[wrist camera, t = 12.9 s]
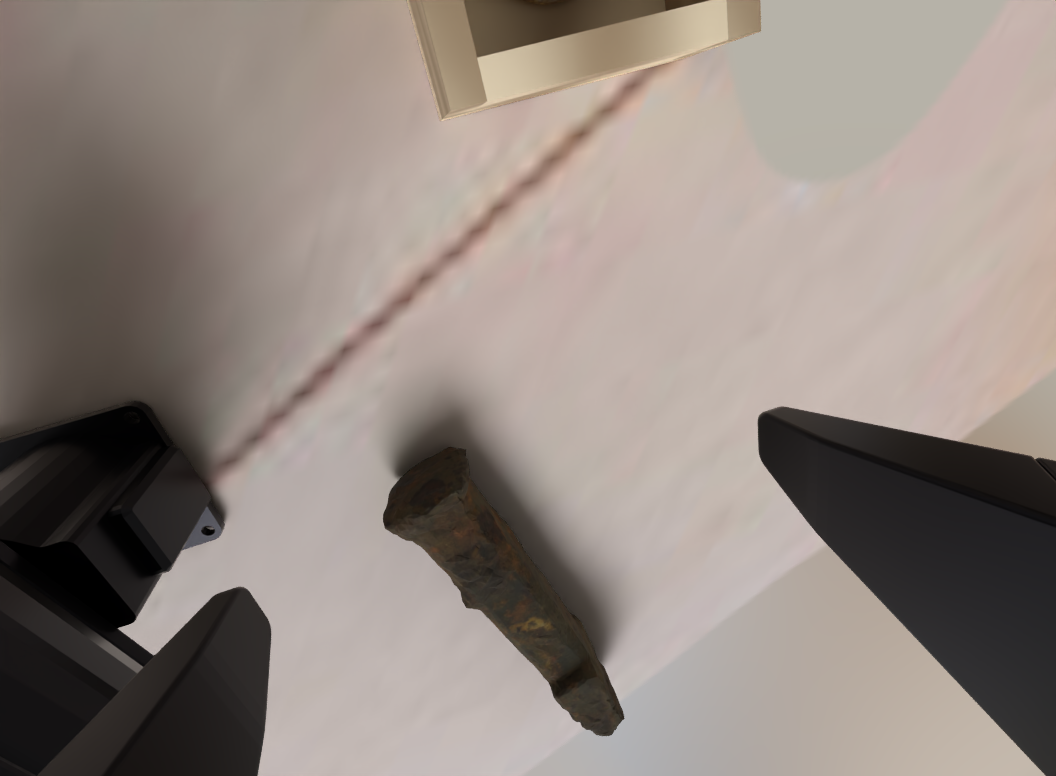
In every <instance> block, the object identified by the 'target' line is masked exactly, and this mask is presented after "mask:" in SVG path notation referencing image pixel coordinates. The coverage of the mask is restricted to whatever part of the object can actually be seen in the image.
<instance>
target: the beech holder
mask: <svg viewBox="0 0 1056 776" xmlns="http://www.w3.org/2000/svg"><path fill="white" fill-rule="evenodd" d="M407 3H408V7H409V10H410V14H411V17H412V21H413V25H414V28H415V32H416V36H417V39H418V43H419V46H420V50H421V54H422V57H423V61H424V64H425V68H426V72H427V75H428V79H429V83H430V86H431V90H432V93H433V97H434V101H435V104H436V108H437V111H438V115H439V119H440V121H443V120H447V119H451V118H455V117H459V116H463V115H467V114H471V113H475V112H478V111H482V110H486V109H490V108H494V107H498V106H502V105H506V104H510V103H513V102H517V101H521V100H525V99H529V98H533V97H537V96H541V95H545V94H548V93H552V92H556V91H560V90H564V89H568V88H572V87H576V86H580V85H583V84H587V83H591V82H595V81H599V80H603V79H607V78H611V77H615V76H618V75H622V74H626V73H630V72H634V71H638V70H642V69H646V68H650V67H653V66H657V65H661V64H665V63H669V62H673V61H677V60H681V59H684V58H687V57H690V56H693V55H695V54H698V53H701V52H704V51H707V50H710V49H712V48H715V47H718V46H721V45H724V44H726V43H729V42H732V41H735V40H738V39H740V38H743V37H746V36H749V35H752V34H754V33H757V32H760V31H761V11H760V0H565V1H563V2H561V3H552V4H549V5H540V4H533V3H530V2H528V1H523V0H407Z"/></svg>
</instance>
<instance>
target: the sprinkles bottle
mask: <svg viewBox="0 0 1056 776" xmlns="http://www.w3.org/2000/svg"><path fill="white" fill-rule="evenodd" d="M523 1H528V2H530V3H533V4H540V5H549V4H552V3H561V2H563V1H565V0H523Z"/></svg>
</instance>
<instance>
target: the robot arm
mask: <svg viewBox="0 0 1056 776" xmlns="http://www.w3.org/2000/svg"><path fill="white" fill-rule="evenodd" d="M129 412H134V413H137V414H138V415H139V417H140V419H134V418H132V417H131V416H130V414H129ZM758 446H759V455H760V458H761V461H762V462H763V464H764V466H765V467H766V468H767V470H768V471H769V472H770V474H771V475H772V476H773V478H774V479H775V480H776V481H777V483H778V484H779V485H780V487H781V488H782V489H783V491H784V492H785V493H786V494H787V496H788V497H789V498H790V500H791V501H792V502H793V504H794V505H795V506H796V508H797V509H798V510H799V511H800V513H801V514H802V515H803V517H804V518H805V519H806V521H807V522H808V523H809V524H810V525H811V527H812V528H813V529H814V530H815V532H816V533H817V534H818V535H819V536H820V537H821V538H822V539H823V540H824V542H825V543H826V544H827V545H828V546H829V547H830V548H831V549H832V550H833V551H834V552H835V553H836V554H837V555H838V556H839V557H840V559H841V560H842V561H843V562H844V563H845V564H846V565H847V566H848V567H849V568H850V569H851V570H852V571H853V572H854V573H855V574H856V575H857V576H858V577H859V578H860V580H861V581H862V582H863V583H864V584H865V585H866V586H867V587H868V588H869V589H870V590H871V591H872V592H873V593H874V595H875V596H877V598H878V599H879V600H880V601H881V602H882V603H883V604H884V605H885V606H886V607H887V608H888V609H889V610H890V611H891V612H892V614H894V616H895V617H896V618H897V619H898V620H899V621H900V622H901V623H902V624H903V625H904V626H905V627H906V628H907V629H908V630H909V631H910V632H911V633H912V635H913V636H914V637H915V638H916V639H917V640H918V641H919V642H920V643H921V644H922V645H923V646H924V647H925V648H926V649H927V650H928V652H929V653H930V654H932V656H933V657H934V658H935V659H936V660H937V661H938V662H939V663H940V664H941V665H942V666H943V667H944V669H945V670H946V671H947V672H948V673H949V674H950V675H951V676H952V677H953V678H954V679H955V680H956V681H957V682H958V683H959V684H960V685H961V686H962V688H963V689H965V691H966V692H967V693H968V694H969V695H970V696H971V697H972V698H973V699H974V700H975V701H976V702H977V703H978V704H979V705H980V707H982V709H983V710H984V711H985V712H986V713H987V714H988V715H989V716H990V717H991V718H992V719H993V720H994V721H995V722H996V724H997V725H998V726H999V727H1000V728H1001V729H1002V730H1003V731H1004V732H1005V733H1006V734H1007V735H1008V736H1009V737H1010V738H1011V739H1012V740H1013V741H1014V742H1015V743H1016V745H1017V746H1018V747H1019V748H1020V749H1021V750H1022V751H1023V752H1024V753H1025V754H1026V755H1027V756H1028V757H1029V758H1030V759H1031V761H1032V762H1033V763H1034V764H1035V765H1036V766H1037V767H1038V768H1039V769H1040V770H1041V771H1042V772H1043V773H1044V774H1045V775H1046V776H1056V461H1053V460H1049V459H1044V458H1037V459H1034V458H1033V457H1032V456H1028V455H1024V454H1019V453H1013V452H1008V451H1003V450H998V449H993V448H988V447H983V446H978V445H973V444H968V443H963V442H958V441H953V440H948V439H943V438H938V437H933V436H928V435H923V434H918V433H913V432H908V431H903V430H898V429H893V428H888V427H883V426H878V425H873V424H868V423H863V422H858V421H854V420H849V419H844V418H839V417H834V416H829V415H824V414H819V413H814V412H809V411H804V410H799V409H794V408H789V407H777V408H774V409H771V410H768V411H765V412H763V413H761V414H760V415H759V418H758ZM210 499H211V496H210V494H209V492H208V491H207V489H206V488H205V486H204V485H203V483H202V481H201V480H200V478H199V477H198V475H197V474H196V472H195V471H194V469H193V468H192V466H191V464H190V463H189V461H188V460H187V458H186V457H185V455H184V454H183V452H182V451H181V449H180V448H178V447H176V446H174V444H173V442H172V441H171V439H170V438H169V436H168V435H167V433H166V432H165V430H164V429H163V427H162V426H161V424H160V423H159V421H158V419H157V418H156V416H155V415H154V413H153V412H152V410H151V409H150V408H149V407H148V406H147V405H146V404H144V403H142V402H138V401H131V402H127V403H123V404H120V405H116V406H113V407H110V408H106V409H103V410H99V411H96V412H93V413H89V414H86V415H82V416H79V417H76V418H72V419H69V420H65V421H62V422H59V423H55V424H52V425H48V426H45V427H42V428H38V429H35V430H31V431H28V432H24V433H21V434H18V435H14V436H11V437H7V438H4V439H1V440H0V776H257V775H258V769H259V763H260V757H261V751H262V745H263V738H264V732H265V721H266V709H267V694H268V678H269V662H270V647H271V627H270V623H269V621H268V619H267V617H266V616H265V614H264V613H263V611H262V610H261V608H260V607H259V605H258V604H257V602H256V601H255V599H254V598H253V596H252V595H251V593H250V592H249V591H248V590H247V589H246V588H244V587H236V588H233V589H230V590H227V591H224V592H221V593H219V594H216V595H215V596H213V597H212V598H211V599H210V600H209V601H208V602H207V603H206V604H205V605H204V606H203V607H202V608H201V609H200V610H199V611H198V612H197V613H196V614H195V615H194V616H193V617H192V618H191V619H190V620H189V621H188V623H187V624H186V625H185V626H184V627H183V628H182V629H181V630H180V631H179V632H178V633H177V634H176V635H175V636H174V637H173V638H172V639H171V640H170V641H169V642H168V643H167V644H166V645H165V646H164V647H163V648H162V649H161V650H160V651H159V652H158V653H157V654H156V655H152V654H151V653H149V652H148V651H147V650H145V649H144V648H143V647H141V646H140V645H139V644H137V643H136V642H135V641H133V640H132V639H131V638H129V637H128V636H127V635H125V634H124V633H123V632H121V631H120V630H119V629H117V628H119V627H122V626H125V625H128V624H131V623H133V622H134V621H135V620H136V618H137V616H138V615H139V613H140V611H141V610H142V608H143V606H144V604H145V603H146V601H147V599H148V598H149V596H150V594H151V592H152V591H153V589H154V587H155V585H156V584H157V582H158V580H159V579H160V577H161V575H162V573H166V572H169V571H170V570H171V569H172V567H173V565H174V563H175V561H176V560H177V558H178V556H179V554H180V553H181V551H182V550H184V549H187V548H190V547H193V546H196V545H200V544H203V543H206V542H209V541H212V540H215V539H217V538H218V537H219V536H220V535H221V533H222V531H223V529H224V526H225V524H224V521H223V519H222V518H221V516H220V515H219V513H218V512H217V510H216V509H215V507H214V505H213V504H212V502H211V501H210ZM205 526H212V527H213V528H214V529H212V530H210V529H207V528H206V527H205Z"/></svg>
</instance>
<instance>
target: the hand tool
mask: <svg viewBox="0 0 1056 776" xmlns="http://www.w3.org/2000/svg"><path fill="white" fill-rule="evenodd" d="M469 473H470V471H469V464H468V460H467V458H466V450H464V449H457V448H452V447H449V448H447V449H444V450H443V451H442V452H440V453H439V454H437V455H435V456H433V457H430V458H428V459H426V460H424V461H422V462H421V463H419V464H418V465H416V466H415V467H413V468H412V469H411V470H409V471H408V472H407V473H406V474H405V475H404V476H403V477H401V478H400V479H399V481H398V482H397V483H396V484H395V485H394V487H393V488H392V489H391V491H390V493H389V498H388V504H387V507H386V509H385V511H384V514H383V523H384V526H385V529H386V530H388V531H390V532H391V533H393V534H396V535H398V536H399V537H401V538H402V539H405V540H407V541H413V542H414V543H416V544H417V545H419V546H421V547H422V548H423V549H424V550H425V551H426V552H427V553H428V554H429V556H430V557H431V558H432V559H433V560H434V561H435V562H436V563H437V565H439V566H440V567H441V568H442V569H443V570H444V571H445V572H446V573H447V574H448V575H449V576H450V577H451V579H452V581H453V583H454V585H455V586H457V588H458V589H459V590H460V591H461V596H462V601H463V603H464V604H465V606H466V608H472V609H478V610H481V611H482V612H483V613H484V614H485V615H486V617H487V618H489V619H490V620H491V621H492V622H493V623H494V624H495V625H496V627H497V628H498V629H499V630H500V631H501V632H502V633H503V634H504V635H505V637H506V638H507V639H508V640H509V641H510V642H511V643H512V644H513V645H514V646H515V647H516V648H517V649H518V650H519V651H520V652H521V653H522V654H523V655H524V656H525V657H526V658H527V659H528V660H529V661H530V662H531V663H532V664H533V665H534V666H535V667H536V668H537V669H538V670H539V672H540V673H541V674H542V675H543V677H544V678H545V679H546V680H547V681H548V682H549V684H550V686H551V690H552V693H553V696H554V698H555V700H556V701H557V702H558V703H559V704H560V705H561V707H562V708H563V709H565V710H567V711H568V712H569V713H570V715H571V717H572V719H573V720H575V721H576V722H580V723H581V725H582V727H583V728H585V729H586V730H591V731H593V732H594V733H595V734H596V735H600V736H610V735H612V734H613V732H614V730H616V728H617V726H618V725H619V724H620V722H621V721H622V720H623V719H624V714H623V711H622V708H621V706H620V704H619V701H618V699H617V696H616V694H615V691H614V689H613V687H612V685H611V683H610V680H609V677H608V675H607V673H606V670H605V668H604V666H603V665H602V664H600V662H599V661H598V659H597V657H596V655H595V651H594V648H593V646H592V644H591V642H590V640H589V638H588V636H587V633H586V631H585V629H584V628H583V625H582V623H581V621H580V620H579V619H578V618H577V617H576V616H574V615H573V614H572V615H571V614H570V613H569V611H568V610H567V608H566V607H565V605H564V604H563V603H562V601H561V599H560V598H559V597H558V595H557V594H556V593H555V591H554V590H553V589H552V587H551V586H550V584H549V583H548V581H547V580H546V578H545V576H544V575H543V574H542V572H541V571H540V570H539V569H538V568H537V567H536V566H535V565H534V564H533V562H532V561H531V559H530V558H529V556H528V555H527V554H526V553H525V552H524V550H523V548H522V545H521V544H520V543H519V542H518V540H517V538H516V537H515V535H514V533H513V532H512V530H511V529H510V528H509V526H508V525H507V523H506V522H505V521H504V520H503V519H501V518H500V516H499V515H498V513H497V512H496V511H495V510H494V509H493V508H492V507H491V506H490V505H489V504H488V502H487V501H486V499H485V498H484V497H483V495H482V494H481V493H480V492H479V491H478V489H477V487H476V486H475V484H474V483H473V481H472V480H471V479H470V477H469Z"/></svg>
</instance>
